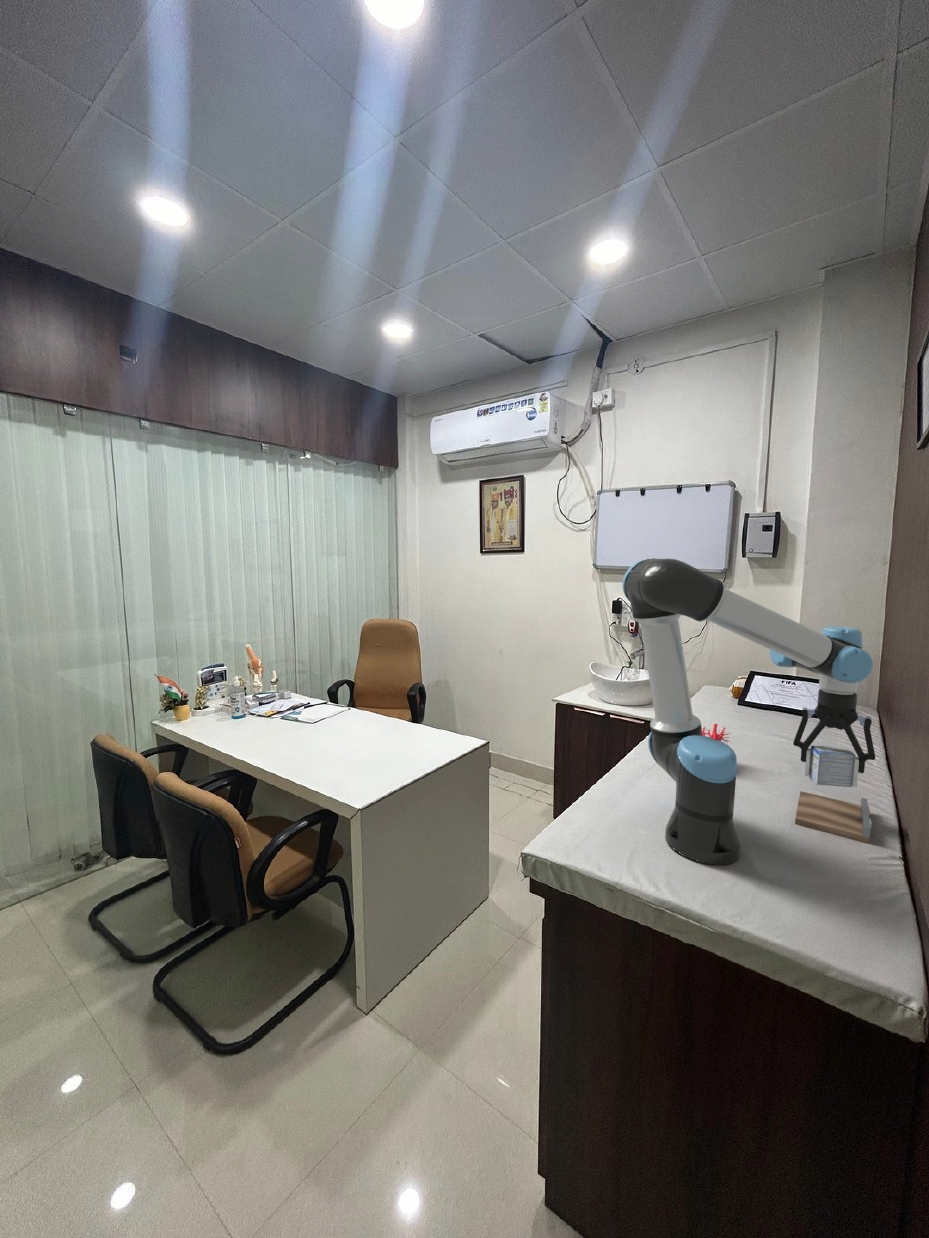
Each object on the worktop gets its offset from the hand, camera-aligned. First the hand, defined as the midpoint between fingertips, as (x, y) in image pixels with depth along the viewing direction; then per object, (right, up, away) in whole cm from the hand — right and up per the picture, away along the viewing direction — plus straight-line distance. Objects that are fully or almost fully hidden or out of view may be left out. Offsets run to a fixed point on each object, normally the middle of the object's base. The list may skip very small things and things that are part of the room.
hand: (830, 779), depth 123 cm
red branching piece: (-14, -6, +33) cm, 36 cm away
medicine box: (0, -1, 0) cm, 1 cm away
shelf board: (+1, -10, 0) cm, 10 cm away
